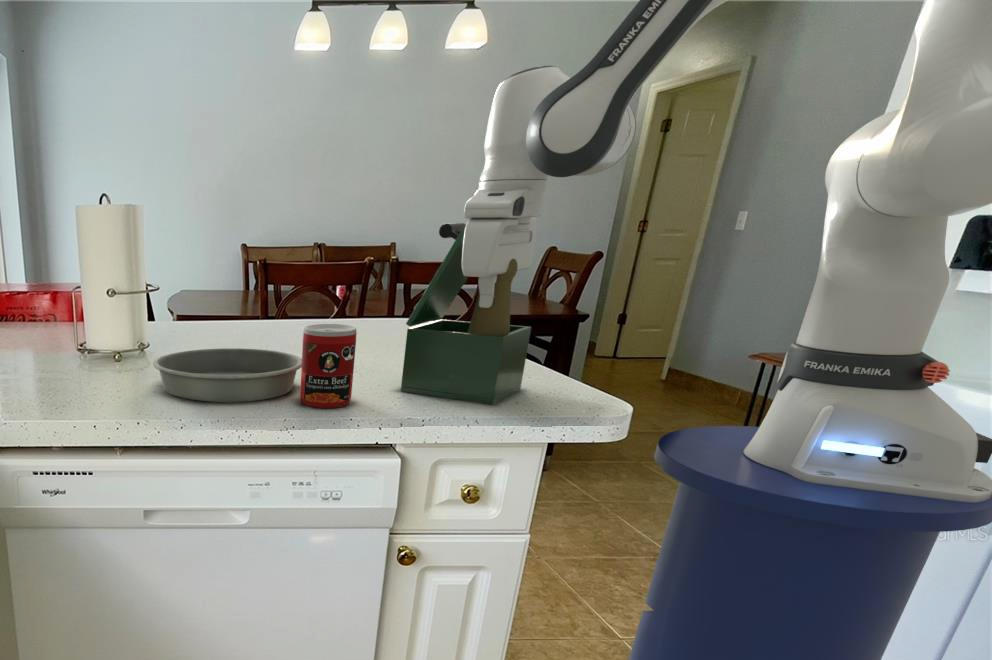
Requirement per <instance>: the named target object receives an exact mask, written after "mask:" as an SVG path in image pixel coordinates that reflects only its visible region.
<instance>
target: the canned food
mask: <svg viewBox="0 0 992 660" xmlns="http://www.w3.org/2000/svg"><path fill="white" fill-rule="evenodd" d="M356 346H357V327H356V326H353V325H348V324H339V323H337V324H336V323H319V324H318V323H317V324H310V325H306V326H304V328H303V335H302V351H301V359H302V367H301V370H300V371H301V372H300V376H301V377H300V395H299V396H300V401H301V403H302V404H303V405H305V406H307V407H311V408H318V409H319V408H320V409H337V408H343V407H345V406H347V405H349V404H350V401H351V398H352V394H353V393H352V392H353V383H354V371H355V369H354V368H355V359H356Z"/></svg>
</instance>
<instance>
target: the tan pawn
mask: <svg viewBox="0 0 992 660" xmlns="http://www.w3.org/2000/svg"><path fill="white" fill-rule="evenodd" d="M517 268H518V266H517V261H516V259H512V260H510V263H509V266H508V269H507V271H506V273H504V274H499V275H497V280H496V283H495V286H494V294H496V297H495V303H494V305H493V306H492V307H489V308H483V307H480V306H479V299H480V292H479V291H478V294H477V296H476V301H475V304H474V308H473V312H472V315H471V319H470V321H469V322H470V326H469V329H468V333H471V334H482V335H493V336H502V335H505V334H507V333H510V325H511V304H512V303H511V301H512V299H511V298H512V287H511V280H512V279H513V278H514V277H515V278H516V276H515V275H517V272H518V271H517Z"/></svg>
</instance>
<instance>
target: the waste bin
mask: <svg viewBox="0 0 992 660" xmlns="http://www.w3.org/2000/svg"><path fill="white" fill-rule="evenodd" d="M470 322H471V321H467V320H465V321H464V320H452V319H442V318H440V319H436V320H432V321H429V322H425V323H421V324H418V325H414V326H410V327H408V328H407V329H406V339H405V347H404V348H405V349H404V357H403V364H402V365H403V367H402V373H401V374H402V375H401V384H400V392H405V393H411V394H417V395H423V396H430V397H437V398H438V397H439V398H443V399H452V400H457V401H458V400H459V401H464V402H471V403H477V404H483V405H484V404H485V405H491V406H492V405H495V404H496V403H499V402H500V401H502V400H504V399H506V398H507V397H510V396H511V395H513V394H515V393H516V392H518V391H520V390H521V387H522V382H523V378H524V377H523V376H524V371H525V365H526V360H527V354H528V348H529V343H530V337H531V333H532V326H526V325H513V324H510V333H507V334H505V335H502V336H493V335H482V334H471V333H468V329H469V326H470Z"/></svg>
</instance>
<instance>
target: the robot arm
mask: <svg viewBox="0 0 992 660" xmlns="http://www.w3.org/2000/svg"><path fill="white" fill-rule="evenodd" d="M729 1H730V0H639V1H638V2H637V3H636V4H635V6H634V7H633V8H632V10H631V11H630V12H628V14H627V15H626V17H625V18H624V19H623V21H621V23H620V24H619V25H618V27H617V28H616V29H615V30H614V32H613V33H612V34H611V35H610V37H609V38H608V39H607V41H606V42H605V43H604V44H603V46H602V47H601V48H600V49H599V50H598V52H597V53H595V55H594V57H593V58H592V59H591V60H590V61H589V62H588V63H587V64H585V66H584V67H583V68H582V69H580V70H579V71H577V73H575V74H574V75H572V76H571V77H570V76H569V75H567V74H566V73H564V72H563V71H562V70H561V68H559V67H557V66H553V65H541V66H535V67H531V68H526V69H522V70H520V71H518V72H515V73H513V74H511V75H510V76H508V77H506V78H504V80H503V81H502V82H500V84H499V85H498V87H497V89H496V91H495V94H494V96H493V99H492V103H491V107H490V111H489V115H488V120H487V126H486V132H485V137H484V143H483V151H484V165H483V169H482V171H481V173H480V175H479V181H478V188H477V190H476V191H475V193H474V194H473V196H472V197H470V198H469V199H468V200H467V201H466V202H465V205H464V208H463V217H464V219H467V222H466V223H465V224H466V227H465V231H464V240H463V250H462V271H463V274H464V276H469V277H473V278H478V282H477V284H478V293H479V292H480V299H479V306H480V307H483V308H489V307H492V306H493V305H494V303H495V297H496V294H494V286H495V283H496V280H497V275H499V274H504V273H506V271H507V269H508V266H509V263H510V260H512V259H516V261H517V266H518V268H517V272H519V271H525V270H528V269H530V268H531V266H532V265H533V262H534V258H535V250H536V243H537V234H538V220H537V218H539V217H541V215H542V210H543V206H544V205H543V204H544V199H545V193H546V189H547V181H548V177H553V178H568V177H573V176H574V177H575V176H578V177H579V176H580V177H581V176H591V175H592V176H593V175H596V174H599V173H602V172H603V171H605V170H607V169H610V168H611V167H613V166H614V165H616V164H617V163H618V162H619V161H620V160H621V159H622V158H623V157H624V156H625V155H626V154H627V152H628V151H629V149H630V147H631V146H632V143H633V141H634V138H635V135H636V129H637V121H636V116H635V113H634V110H633V109H632V108H631V106H630V102H631V101H632V100H633V98H634V96H635V95H636V93H637V92H638V91H639V90H640V88H641V87H642V86H643V85H644V84H645V83H646V82H647V80H648V79H649V78H650V77H651V75H652V74H653V73H654V72H655V71H656V70H657V69H658V67H660V65H661V64H662V63H663V62H664V60H665V59H666V58H667V57H668V56H669V55H670V53H671V52H672V51H673V50H674V49H675V48H676V46H677V45H678V44H679V43H680V41H682V40H683V38H684V37H685V36H686V35H687V33H688V32H689V31H690V30H691V29H692V28H693V27H694V26H695V25H696V24H698V23H699V22H700V20H702V18H704V17H705V16H706V15H708V14H709V13H711V11H713V10H715V9H716V8H718V7H719V6H721V5H723V4H725V3H727V2H729ZM913 38H914V41H915V54H914V55H915V56H914V62H913V67H912V71H911V77H910V81H909V85H908V89H907V93H906V95H905V98H904V101H903V104H902V106H901V107H900V109H896V110H892V111H889V112H887V113H884V114H881V115H880V116H878V117H875V118H874V119H872V120H871V121H869V122H867V123H866V124H864V125H863V126H861V127H860V128H858V129H857V130H856V131H855V132H853V133H852V134H851V135H849V137H847V138H846V139H845V140H844V141H843V142H842V143H841V144H839V146H838V147H837V148H836V149H835V151H834V152H833V154H832V155H831V157H830V159H829V161H828V163H827V166H826V169H825V175H824V184H825V189H826V192H827V193H826V194H827V201H826V209H825V215H824V223H823V229H822V231H823V232H822V241H821V252H820V258H819V264H818V270H817V275H816V279H815V283H814V286H813V289H812V292H811V294H810V297H809V301H808V304H807V308H806V310H805V313H804V316H803V319H802V323H801V326H800V329H799V332H798V336H797V338H796V341H793V342H791V344H790V347H789V349H788V351H787V352H786V353H785V356H784V359H783V362H782V365H781V368H780V371H779V375H778V378H777V385H776V387H777V388H776V389H777V391H776V393H775V396H774V398H773V400H772V402H771V404H770V407H769V409H768V411H767V412H766V415H765V417H764V418H763V420H762V422H761V424H760V425H759V426H758V427H759V429H758V431H757V432H756V434H755V435H754V437H753V438H752V440H751V441H750V443H749V444H748V445H747V447H746V448H745V449H744V451H743V452H744V454H745V455H746V456H747V457H748V458H750V459H751V460H753V461H755V462H757V463H760V464H762V465H765V466H768V467H771V468H774V469H777V470H780V471H783V472H785V473H787V474H789V475H791V476H793V477H795V478H797V479H799V480H802V481H805V482H810V483H817V484H825V485H833V486H841V487H849V488H856V489H864V490H872V491H880V492H888V493H896V494H904V495H912V496H920V497H928V498H935V499H943V500H951V501H959V502H968V503H978V502H983V501H986V500H988V499H990V498H991V496H992V480H991V479H992V478H991V477H990V476H989V475H988V474H987V473H985V472H983V471H982V470H980V469H978V468H975V465H976V463H980V464H981V463H982V464H987V463H988V462H989V460H990V458H991V457H992V438H990V437H989V436H986V435H983V434H981V433H979V432H976V431H975V428H974V427H973V426H972V425H971V424H970V423H969V422H968V421H967V420H966V419H965V418H964V417H963V416H961V414H959V413H958V412H957V411H956V410H955V409H954V408H953V407H952V406H951V405H950V404H948V403H947V402H946V401H945V400H944V399H943V398H942V397H940V396H939V394H937V393H936V392H935V391H933V390H932V389H931V388H930V387H932V386H934V385H935V384H937V383H941V382H943V380H947V379H948V377H949V376H950V372H951V370H950V369H949V367H948V365H947V364H946V363H944V362H941V361H939V360H936V359H935V358H933V357H932V356H930V355H928V354H927V353H926V352H923V351H922V350H923V348H924V345H925V343H926V341H927V338H928V336H929V334H930V331H931V329H932V326H933V323H934V321H935V319H936V316H937V314H938V311H939V308H940V305H942V301H943V298H944V296H945V295H946V291H947V290H948V286H949V282H950V270H949V267H948V265H947V261H946V238H947V229H948V221H949V217H953V216H957V215H961V214H964V213H968V212H971V211H974V210H978V209H980V208H983V207H986V206H988V205H992V0H926V1H925V3H924V5H923V8H922V10H921V12H920V15H919V17H918V19H917V22H916V24H915V26H914V32H913ZM516 275H517V274H516ZM516 275H515V277H514V278H513V279H512V280H511V288H512V287H513V285H514V282H515V280H516Z"/></svg>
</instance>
